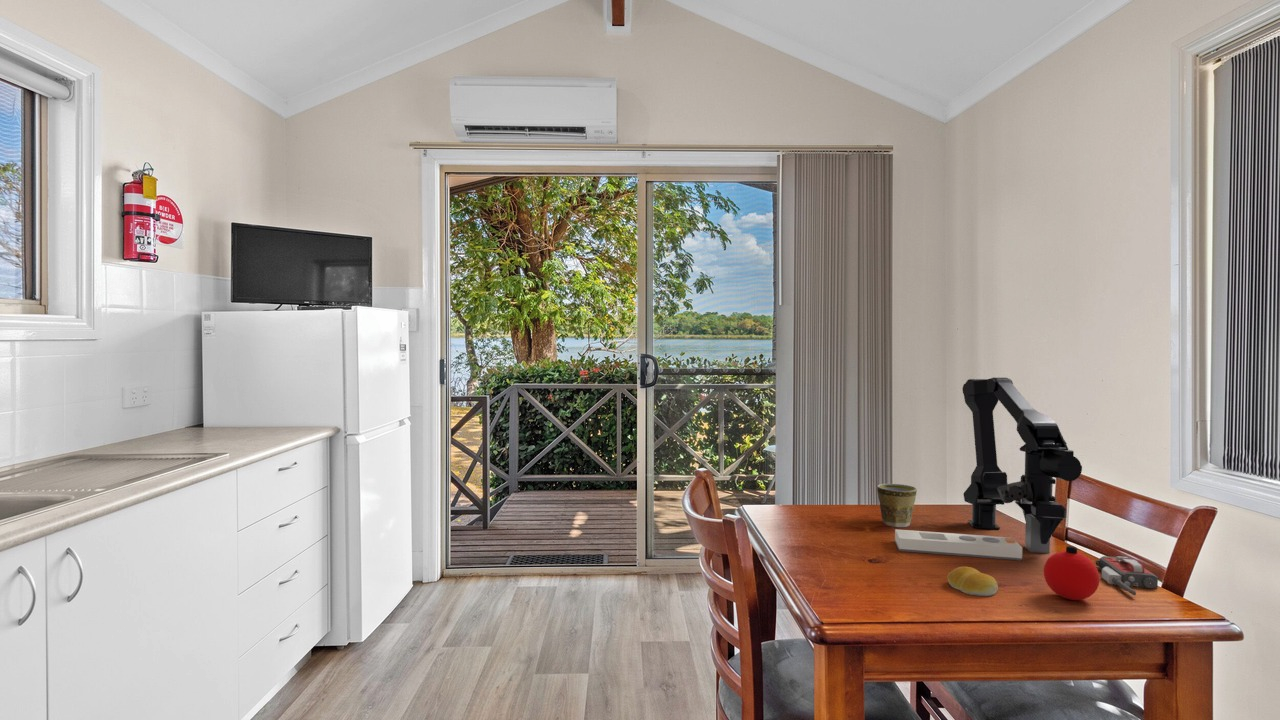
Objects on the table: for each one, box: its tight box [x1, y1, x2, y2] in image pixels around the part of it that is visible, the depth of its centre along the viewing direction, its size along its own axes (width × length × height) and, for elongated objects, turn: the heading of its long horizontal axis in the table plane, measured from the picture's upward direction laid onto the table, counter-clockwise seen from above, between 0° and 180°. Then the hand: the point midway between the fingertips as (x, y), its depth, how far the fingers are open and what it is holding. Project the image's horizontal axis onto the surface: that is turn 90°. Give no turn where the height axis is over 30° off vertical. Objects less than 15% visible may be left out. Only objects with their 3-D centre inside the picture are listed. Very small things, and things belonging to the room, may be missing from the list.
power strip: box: [894, 528, 1023, 561], centre depth 158 cm, size 8×26×4 cm, turn 76°
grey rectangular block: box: [1024, 514, 1051, 554], centre depth 159 cm, size 4×4×8 cm
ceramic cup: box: [876, 483, 918, 528], centre depth 183 cm, size 13×10×10 cm
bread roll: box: [947, 566, 999, 597], centre depth 133 cm, size 8×9×4 cm
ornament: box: [1043, 545, 1101, 601], centre depth 128 cm, size 9×9×10 cm
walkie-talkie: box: [1095, 555, 1159, 596], centre depth 137 cm, size 9×4×20 cm
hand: (1037, 538), depth 159 cm, fingers open, 9 cm apart
